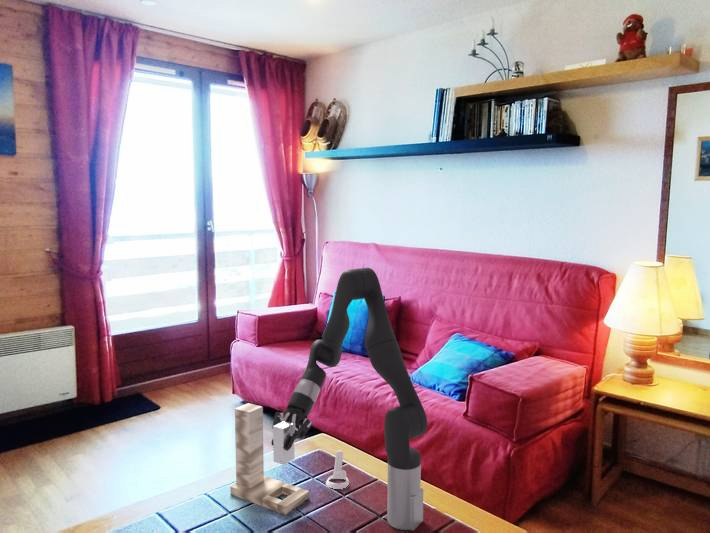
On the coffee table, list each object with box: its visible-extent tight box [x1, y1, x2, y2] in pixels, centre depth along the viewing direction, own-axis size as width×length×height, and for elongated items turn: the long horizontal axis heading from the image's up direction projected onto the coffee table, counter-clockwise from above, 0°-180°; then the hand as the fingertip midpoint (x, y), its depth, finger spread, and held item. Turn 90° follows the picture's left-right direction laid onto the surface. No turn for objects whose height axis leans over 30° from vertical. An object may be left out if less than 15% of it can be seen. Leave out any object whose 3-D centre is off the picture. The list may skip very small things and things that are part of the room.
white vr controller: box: [325, 449, 350, 490], centre depth 179 cm, size 8×12×7 cm
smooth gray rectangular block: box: [272, 422, 296, 465], centre depth 167 cm, size 4×5×11 cm
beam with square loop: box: [229, 402, 310, 516], centre depth 168 cm, size 22×11×26 cm, turn 57°
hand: (279, 447), depth 166 cm, fingers closed on smooth gray rectangular block, 4 cm apart
